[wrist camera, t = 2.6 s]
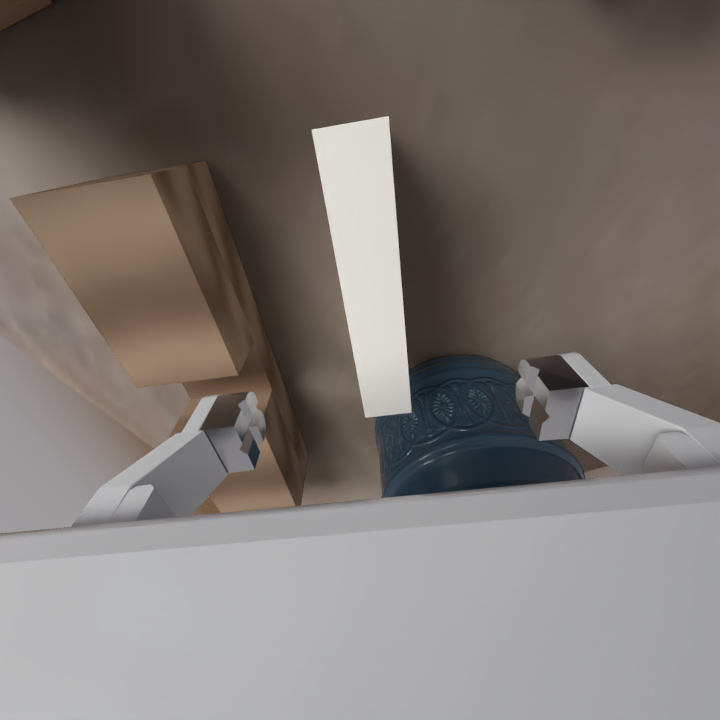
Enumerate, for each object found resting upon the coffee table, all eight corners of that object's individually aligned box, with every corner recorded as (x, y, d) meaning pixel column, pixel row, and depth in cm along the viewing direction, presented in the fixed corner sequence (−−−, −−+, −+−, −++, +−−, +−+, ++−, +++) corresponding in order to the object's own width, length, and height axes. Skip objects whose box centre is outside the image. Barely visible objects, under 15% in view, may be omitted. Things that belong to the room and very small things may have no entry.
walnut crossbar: (101, 178, 19) (9, 198, 14) (205, 160, 18) (150, 174, 13) (246, 460, 32) (226, 521, 27) (308, 454, 32) (299, 514, 27)
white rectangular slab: (328, 127, 18) (311, 129, 11) (376, 119, 17) (388, 116, 11) (362, 340, 25) (365, 417, 18) (396, 335, 25) (411, 412, 18)
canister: (364, 360, 26) (377, 663, 11) (540, 339, 25) (796, 638, 10) (382, 468, 33) (403, 735, 19) (518, 455, 32) (650, 725, 18)
